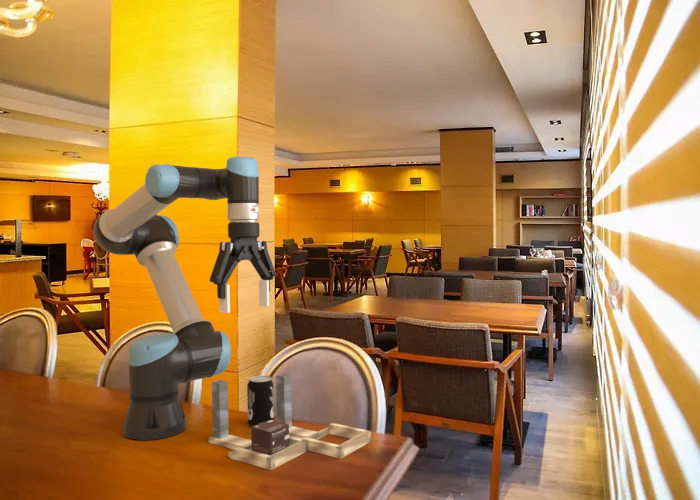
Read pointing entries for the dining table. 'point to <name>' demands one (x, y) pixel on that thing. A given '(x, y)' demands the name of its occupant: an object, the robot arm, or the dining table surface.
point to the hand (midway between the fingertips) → (245, 309)
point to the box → (270, 437)
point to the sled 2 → (339, 451)
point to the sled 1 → (242, 445)
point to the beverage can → (260, 400)
